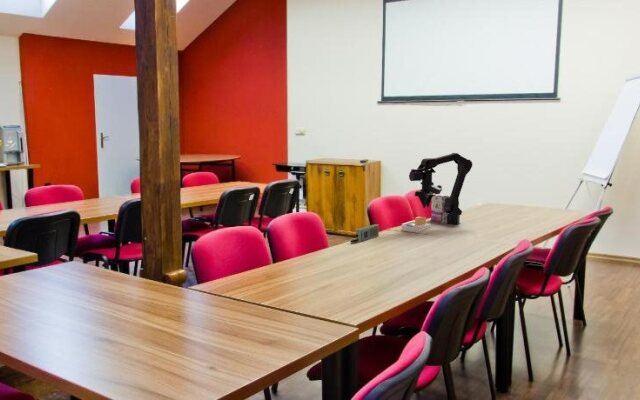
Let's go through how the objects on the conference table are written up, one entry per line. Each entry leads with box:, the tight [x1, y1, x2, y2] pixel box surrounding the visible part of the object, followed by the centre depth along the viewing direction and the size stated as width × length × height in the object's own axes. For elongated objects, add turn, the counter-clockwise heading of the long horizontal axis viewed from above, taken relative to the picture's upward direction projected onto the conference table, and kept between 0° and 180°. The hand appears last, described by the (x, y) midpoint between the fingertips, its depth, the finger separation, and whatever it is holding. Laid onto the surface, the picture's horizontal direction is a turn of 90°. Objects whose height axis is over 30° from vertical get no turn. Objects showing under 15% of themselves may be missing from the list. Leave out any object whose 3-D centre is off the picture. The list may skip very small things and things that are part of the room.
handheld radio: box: [350, 223, 380, 244], centre depth 303 cm, size 7×3×25 cm
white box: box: [401, 219, 431, 233], centre depth 334 cm, size 10×18×4 cm, turn 144°
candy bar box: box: [430, 193, 450, 224], centre depth 357 cm, size 11×5×16 cm, turn 26°
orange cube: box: [414, 216, 427, 225], centre depth 337 cm, size 4×4×4 cm
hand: (426, 207), depth 341 cm, fingers open, 4 cm apart
